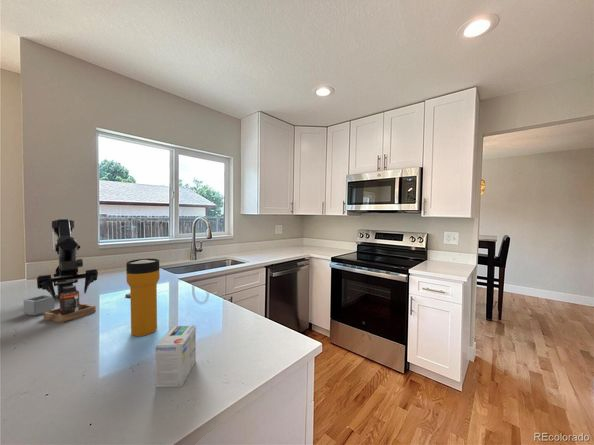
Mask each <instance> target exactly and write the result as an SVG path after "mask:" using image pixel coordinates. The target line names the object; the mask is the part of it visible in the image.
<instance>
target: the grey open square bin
mask: <svg viewBox="0 0 594 445" xmlns="http://www.w3.org/2000/svg"><path fill="white" fill-rule="evenodd" d="M55 300H56V298H55V299H54V298H53V297H52V295H50V294H41V295H37V296H33V297H30V298H26V299H23V313H24V314H27V315H28V316H39V315H44V312H48V311H51V310H54V309H56V307H55V306H56V305H55V304H56V302H55Z"/></svg>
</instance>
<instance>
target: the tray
mask: <svg viewBox="0 0 594 445" xmlns="http://www.w3.org/2000/svg"><path fill="white" fill-rule="evenodd" d="M79 304H80V311H77V312H74V313H70V314H67V315H60V307H58V308H55V309H52V310H51V311H48V312H44V314H43V320H47V321H52V322H57V323H61V324H64V323H68V322H70V321H73V320H75V319H79V318H82V317H85V316H87V315H91V314H93V313H95V312H96V305H93V304H87V303H81V302H79Z"/></svg>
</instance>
